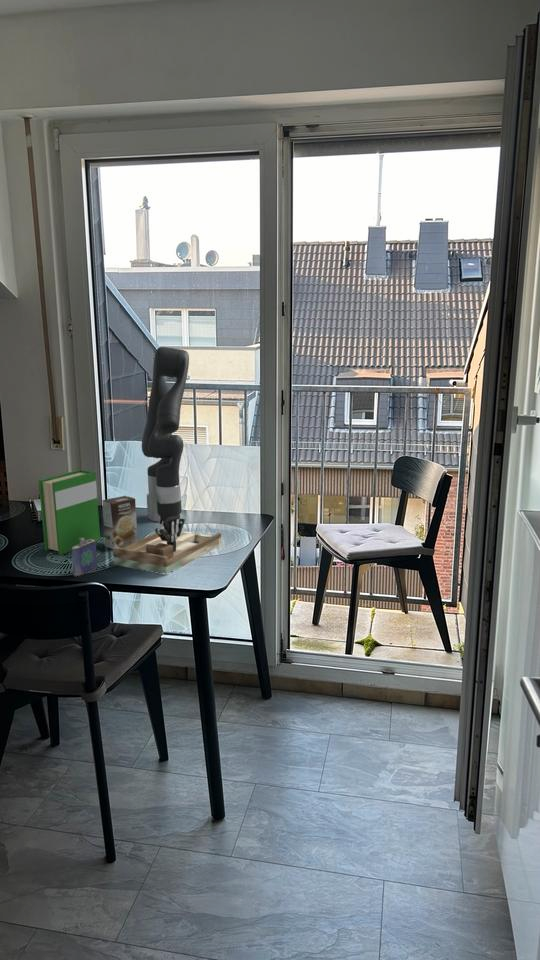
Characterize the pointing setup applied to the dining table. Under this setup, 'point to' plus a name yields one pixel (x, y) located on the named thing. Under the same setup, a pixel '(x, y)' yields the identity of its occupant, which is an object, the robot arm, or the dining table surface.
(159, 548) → the walnut block
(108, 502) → the coffee box
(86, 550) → the flask
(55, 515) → the hardback book
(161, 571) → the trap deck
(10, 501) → the dining table surface
